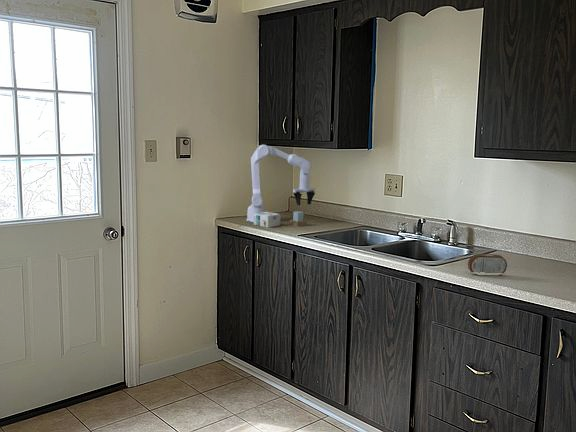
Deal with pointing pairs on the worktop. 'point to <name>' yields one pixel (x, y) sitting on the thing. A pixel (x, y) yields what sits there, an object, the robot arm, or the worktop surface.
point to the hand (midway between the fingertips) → (303, 204)
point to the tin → (487, 263)
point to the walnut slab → (298, 223)
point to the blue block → (298, 216)
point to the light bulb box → (266, 219)
